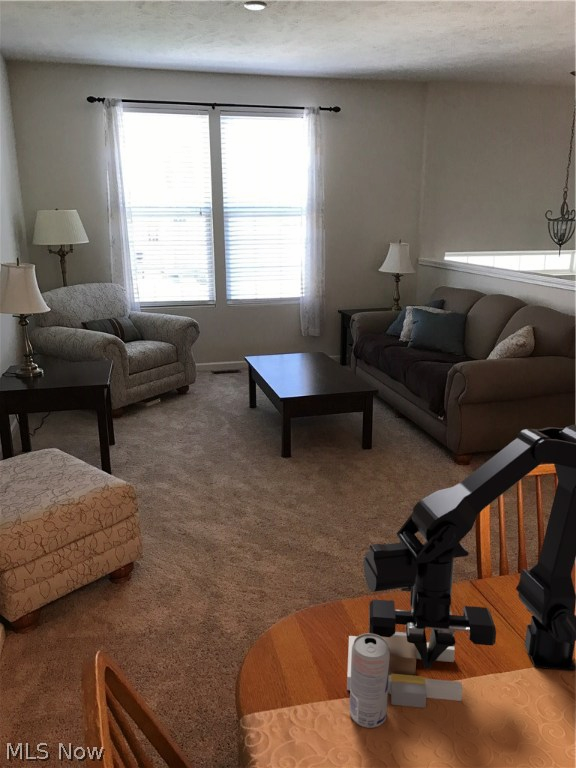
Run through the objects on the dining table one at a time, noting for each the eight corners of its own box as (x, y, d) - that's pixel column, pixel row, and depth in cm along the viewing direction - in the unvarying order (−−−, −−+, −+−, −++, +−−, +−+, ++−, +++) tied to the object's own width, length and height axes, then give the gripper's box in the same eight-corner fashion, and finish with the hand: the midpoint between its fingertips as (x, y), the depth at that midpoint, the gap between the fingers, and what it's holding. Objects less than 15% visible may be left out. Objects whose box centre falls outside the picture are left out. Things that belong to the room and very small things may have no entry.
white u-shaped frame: (450, 648, 99) (452, 634, 99) (463, 711, 87) (465, 696, 86) (348, 639, 102) (349, 626, 101) (346, 699, 89) (346, 685, 88)
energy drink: (385, 701, 88) (388, 633, 85) (387, 731, 83) (391, 659, 80) (349, 698, 89) (351, 631, 86) (349, 727, 84) (351, 657, 81)
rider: (412, 662, 96) (413, 636, 95) (414, 685, 92) (416, 658, 90) (381, 659, 97) (382, 633, 96) (382, 682, 92) (383, 655, 91)
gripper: (485, 555, 96) (478, 637, 100) (370, 548, 98) (367, 628, 102) (501, 597, 85) (491, 687, 89) (370, 588, 87) (367, 676, 91)
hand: (426, 666), depth 93 cm, fingers closed
